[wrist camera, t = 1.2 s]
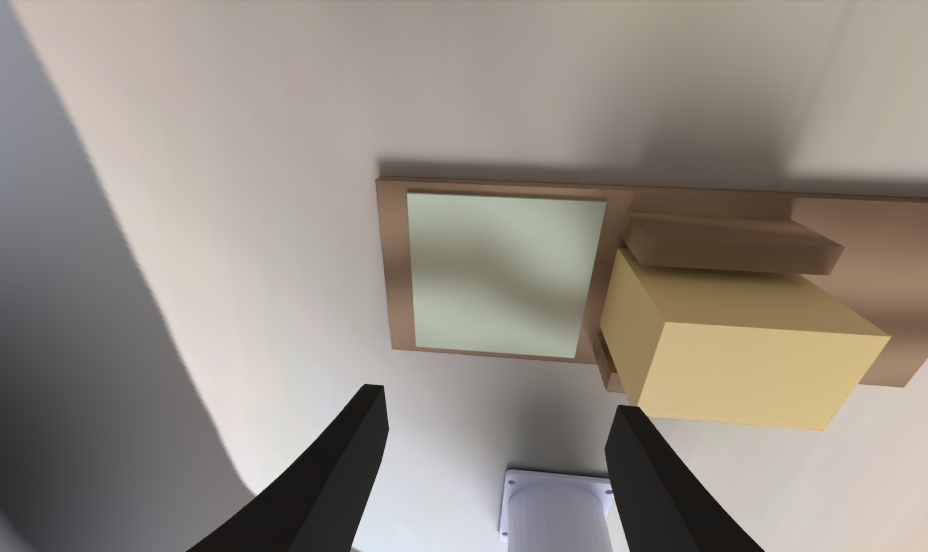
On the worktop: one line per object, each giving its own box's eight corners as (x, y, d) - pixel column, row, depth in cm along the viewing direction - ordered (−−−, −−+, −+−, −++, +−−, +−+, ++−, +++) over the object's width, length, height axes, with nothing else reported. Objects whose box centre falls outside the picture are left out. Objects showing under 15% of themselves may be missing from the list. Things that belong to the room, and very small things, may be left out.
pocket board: (890, 376, 21) (964, 435, 17) (395, 340, 23) (377, 386, 19) (1024, 202, 16) (1161, 236, 13) (380, 176, 18) (352, 199, 15)
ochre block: (737, 334, 19) (823, 431, 14) (599, 324, 20) (633, 415, 15) (773, 256, 17) (891, 337, 12) (617, 248, 18) (665, 321, 12)
